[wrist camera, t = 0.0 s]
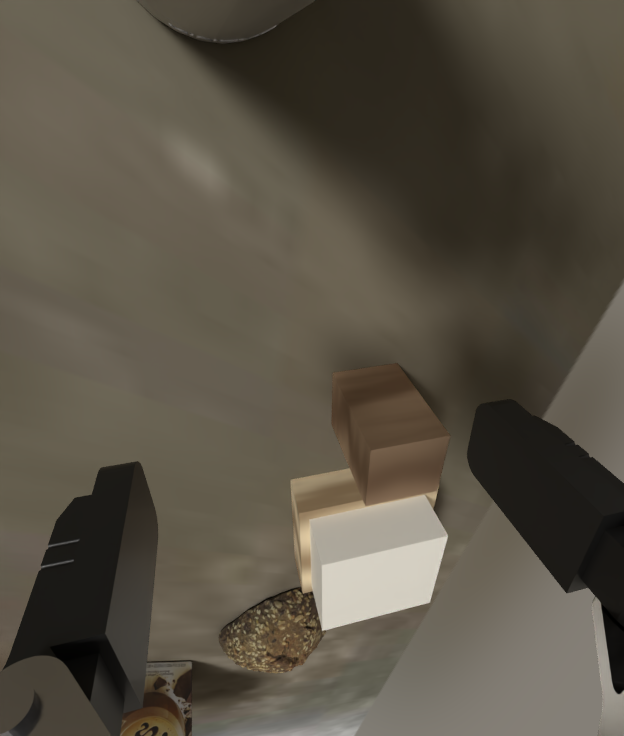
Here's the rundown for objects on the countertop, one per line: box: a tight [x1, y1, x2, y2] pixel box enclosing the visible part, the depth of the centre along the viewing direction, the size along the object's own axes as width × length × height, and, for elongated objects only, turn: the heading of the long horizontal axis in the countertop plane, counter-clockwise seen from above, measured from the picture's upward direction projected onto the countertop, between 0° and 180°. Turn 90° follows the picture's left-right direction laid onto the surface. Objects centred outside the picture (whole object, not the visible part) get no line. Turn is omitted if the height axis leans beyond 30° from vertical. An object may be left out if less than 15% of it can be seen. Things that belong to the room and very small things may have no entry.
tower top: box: [309, 495, 448, 631], centre depth 36 cm, size 10×10×4 cm
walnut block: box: [332, 363, 450, 506], centre depth 29 cm, size 5×5×8 cm
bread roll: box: [219, 587, 326, 673], centre depth 47 cm, size 13×12×5 cm
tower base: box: [291, 468, 439, 593], centre depth 39 cm, size 12×12×4 cm
